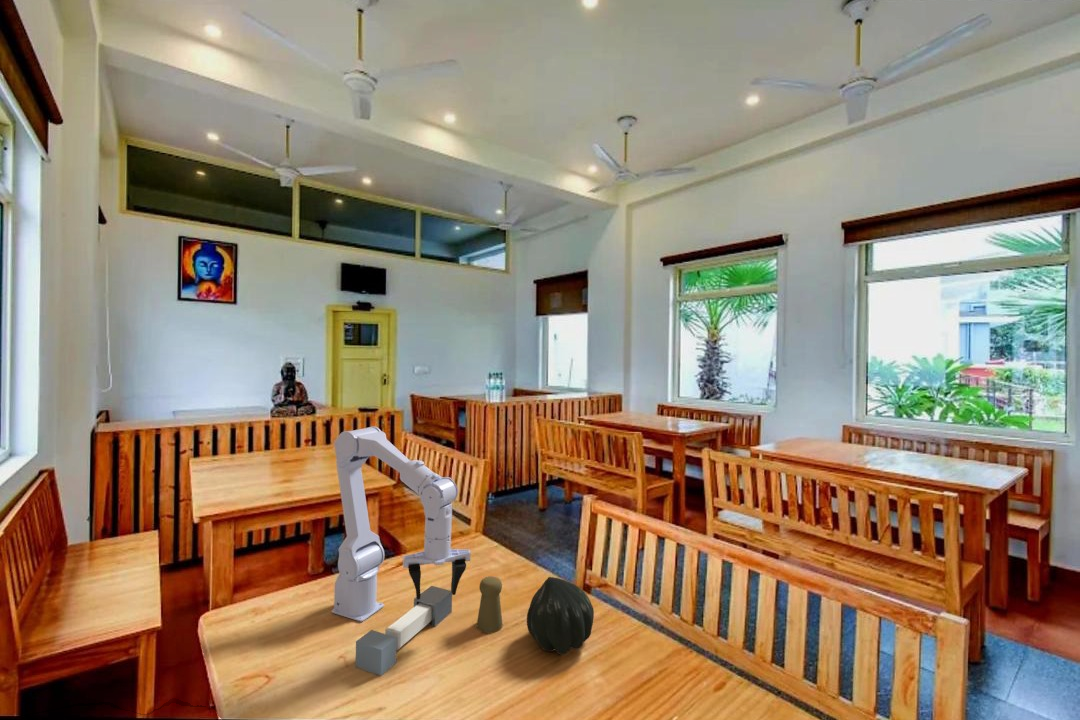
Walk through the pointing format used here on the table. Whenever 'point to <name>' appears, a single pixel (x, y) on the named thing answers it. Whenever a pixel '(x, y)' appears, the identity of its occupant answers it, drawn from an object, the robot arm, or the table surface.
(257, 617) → the table surface
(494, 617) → the olive game pawn
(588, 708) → the table surface
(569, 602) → the squash
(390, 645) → the socket
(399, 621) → the long white plank
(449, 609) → the metal block
